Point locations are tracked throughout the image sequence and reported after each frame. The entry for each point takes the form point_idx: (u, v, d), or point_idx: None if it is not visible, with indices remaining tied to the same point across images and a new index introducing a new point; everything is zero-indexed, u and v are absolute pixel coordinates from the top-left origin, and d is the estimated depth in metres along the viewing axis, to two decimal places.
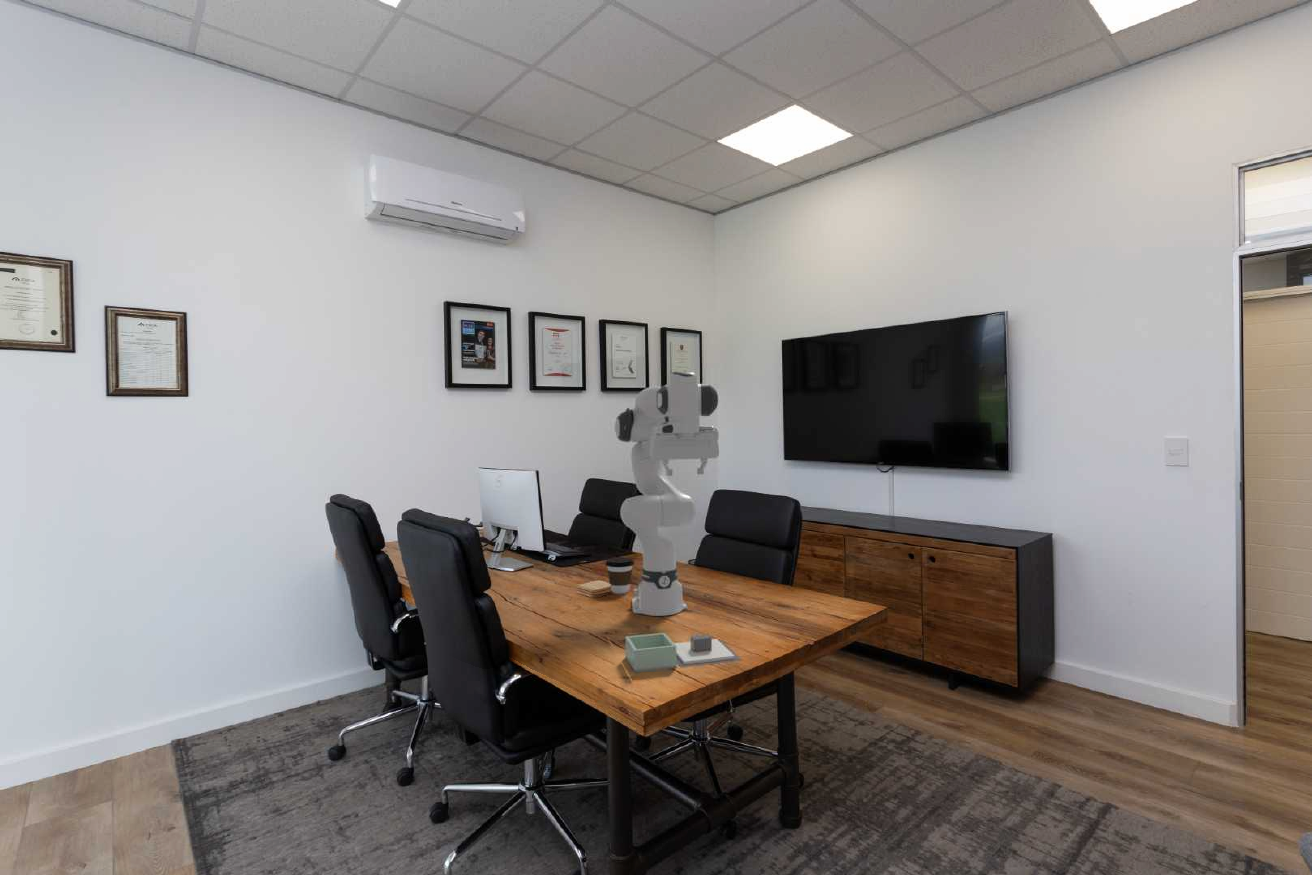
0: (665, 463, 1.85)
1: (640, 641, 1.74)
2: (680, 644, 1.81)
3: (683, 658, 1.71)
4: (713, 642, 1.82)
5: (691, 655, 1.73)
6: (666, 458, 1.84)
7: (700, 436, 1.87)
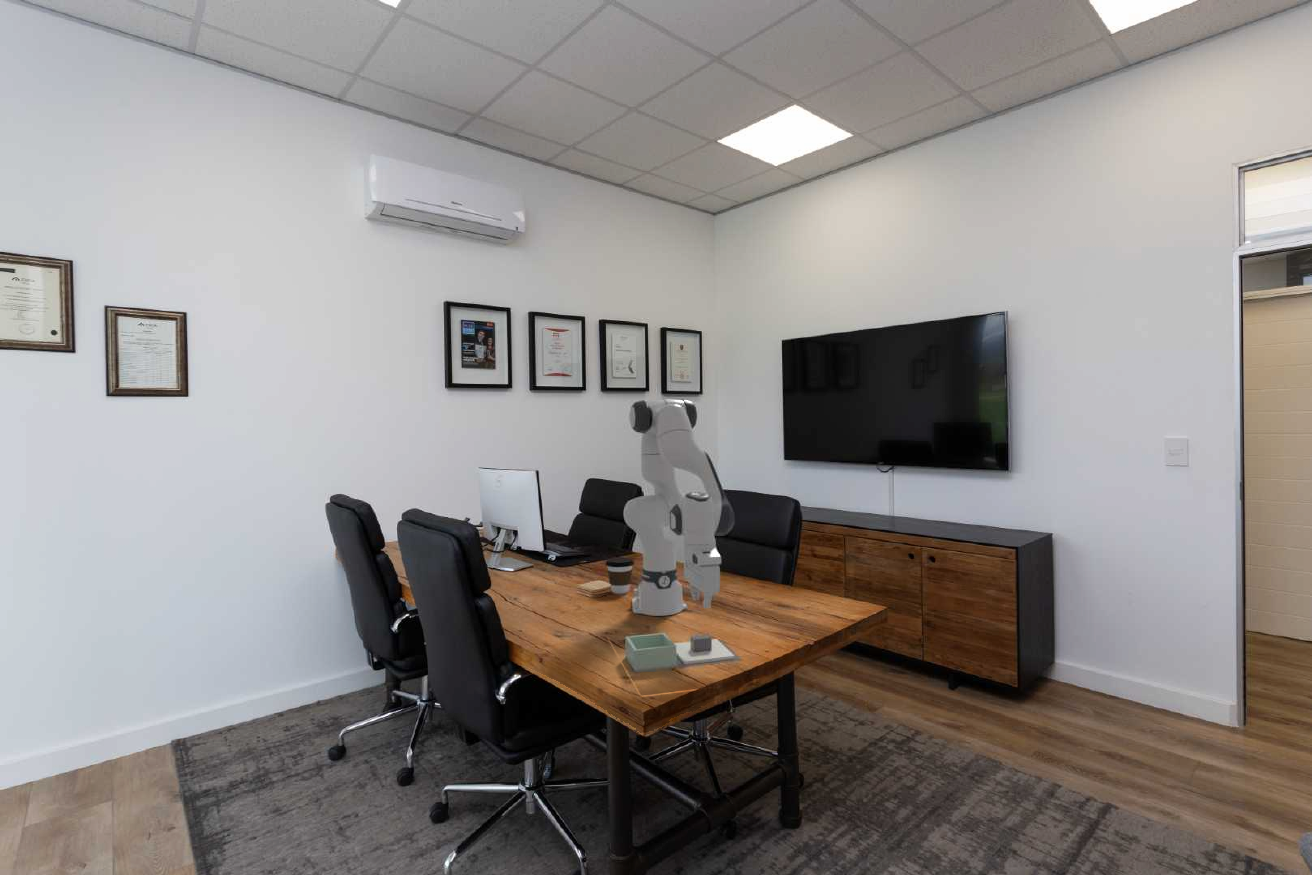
0: None
1: (640, 641, 1.74)
2: (680, 644, 1.81)
3: (683, 658, 1.71)
4: (713, 642, 1.82)
5: (691, 655, 1.73)
6: None
7: None
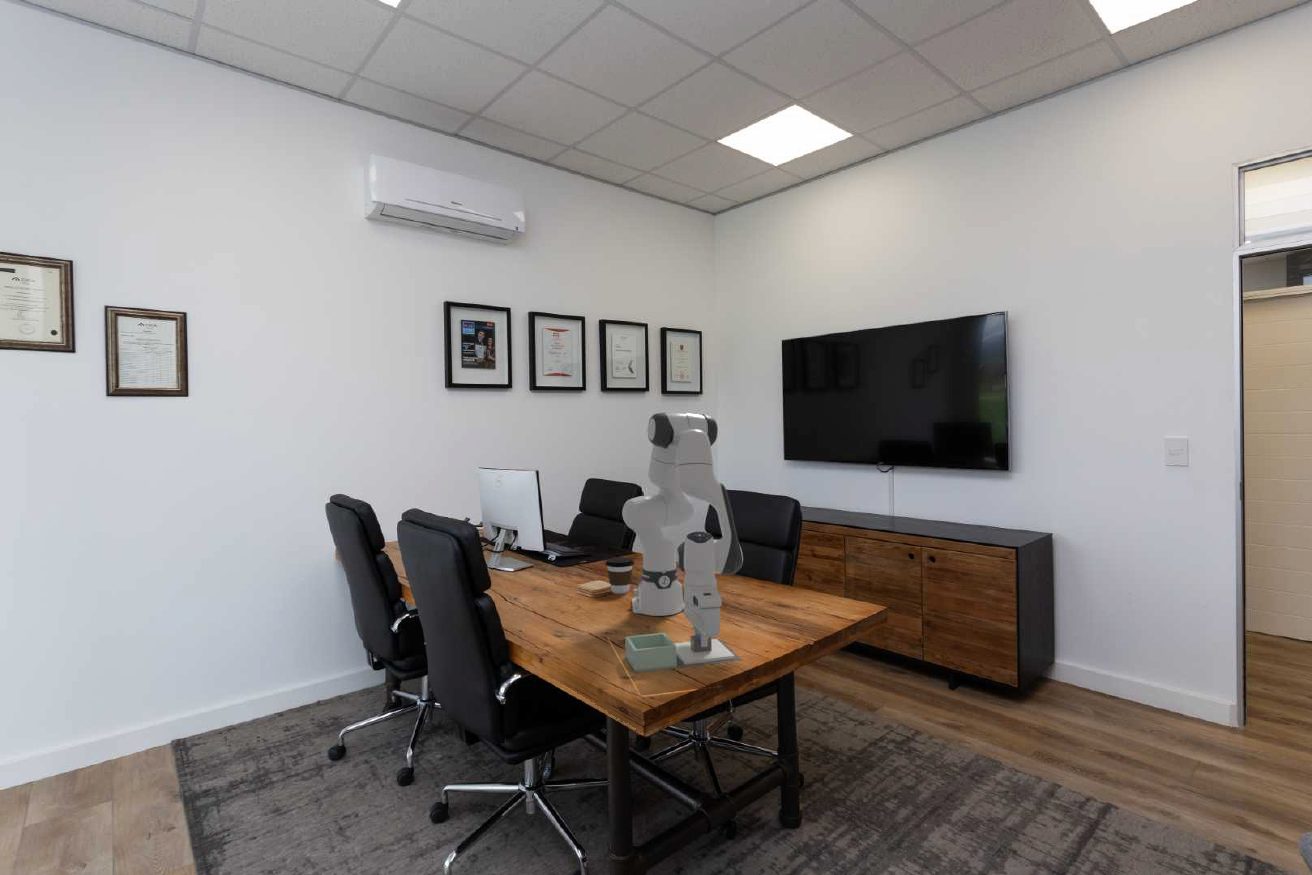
0: None
1: (640, 641, 1.74)
2: (680, 644, 1.81)
3: (683, 658, 1.71)
4: (713, 642, 1.83)
5: (691, 655, 1.73)
6: None
7: None
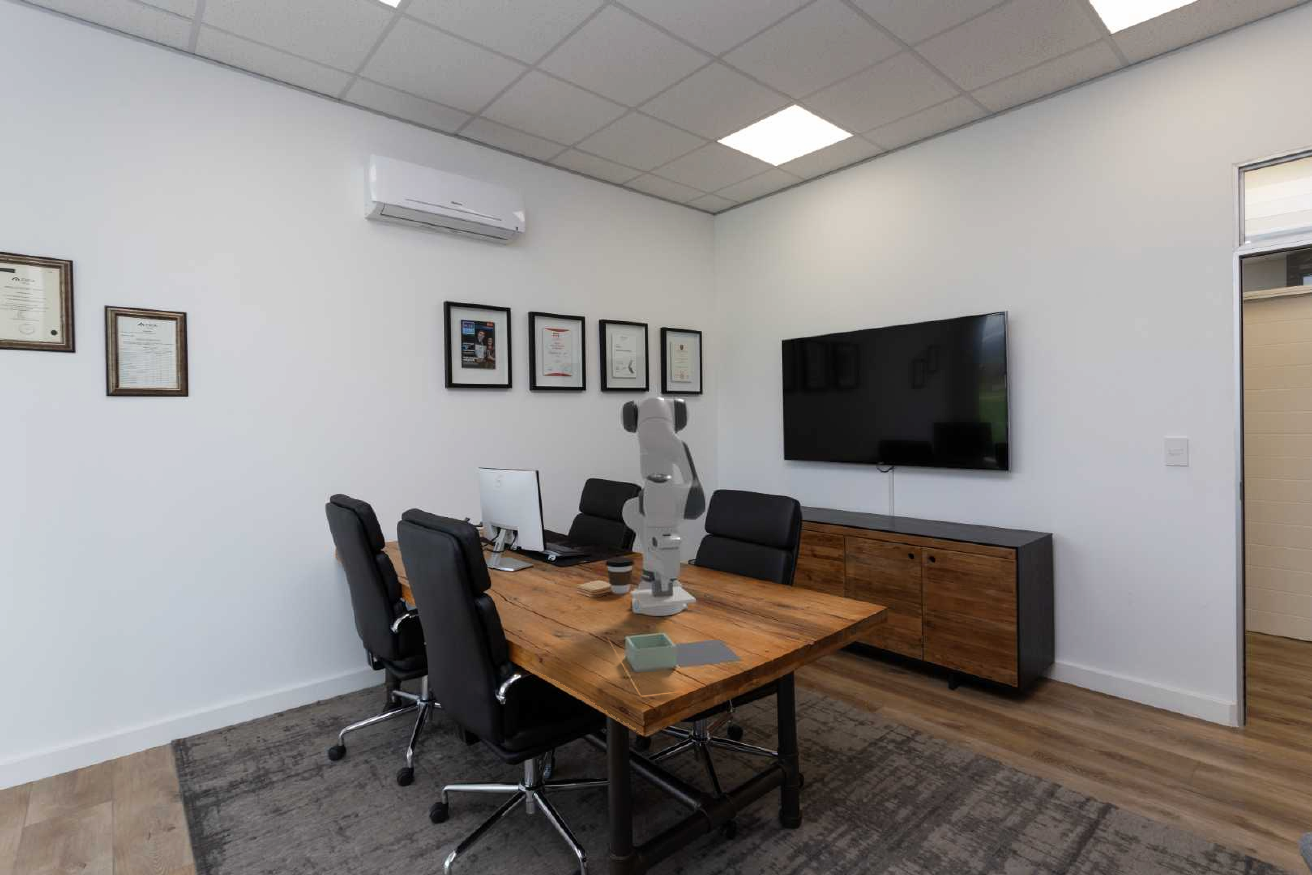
0: None
1: (640, 641, 1.74)
2: (641, 591, 1.75)
3: (642, 601, 1.65)
4: (675, 589, 1.77)
5: (651, 599, 1.67)
6: None
7: None
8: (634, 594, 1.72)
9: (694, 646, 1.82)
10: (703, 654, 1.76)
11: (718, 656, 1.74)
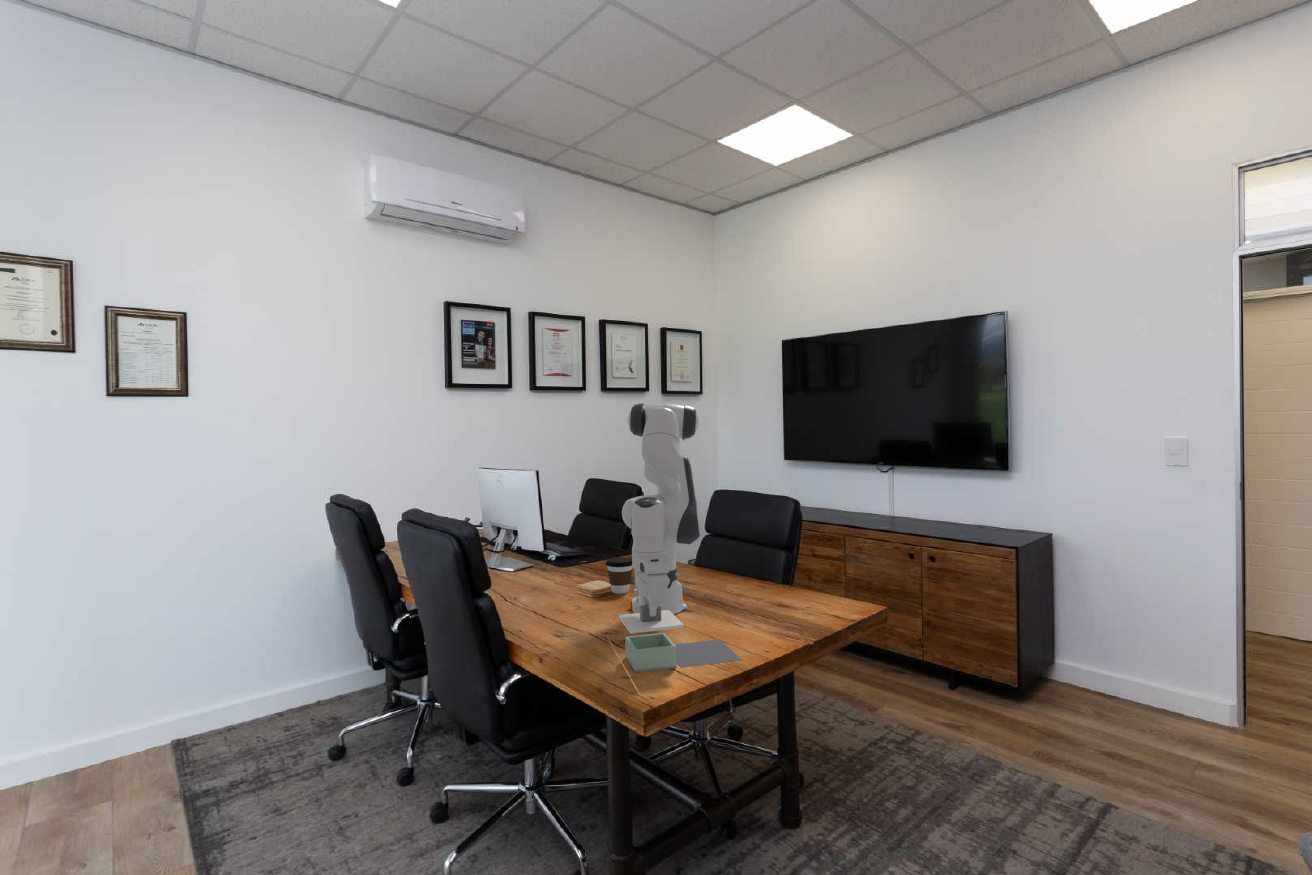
0: None
1: (640, 641, 1.74)
2: (630, 615, 1.74)
3: (630, 627, 1.64)
4: (664, 613, 1.75)
5: (639, 624, 1.66)
6: None
7: None
8: (622, 618, 1.71)
9: (694, 646, 1.82)
10: (703, 654, 1.76)
11: (718, 656, 1.74)
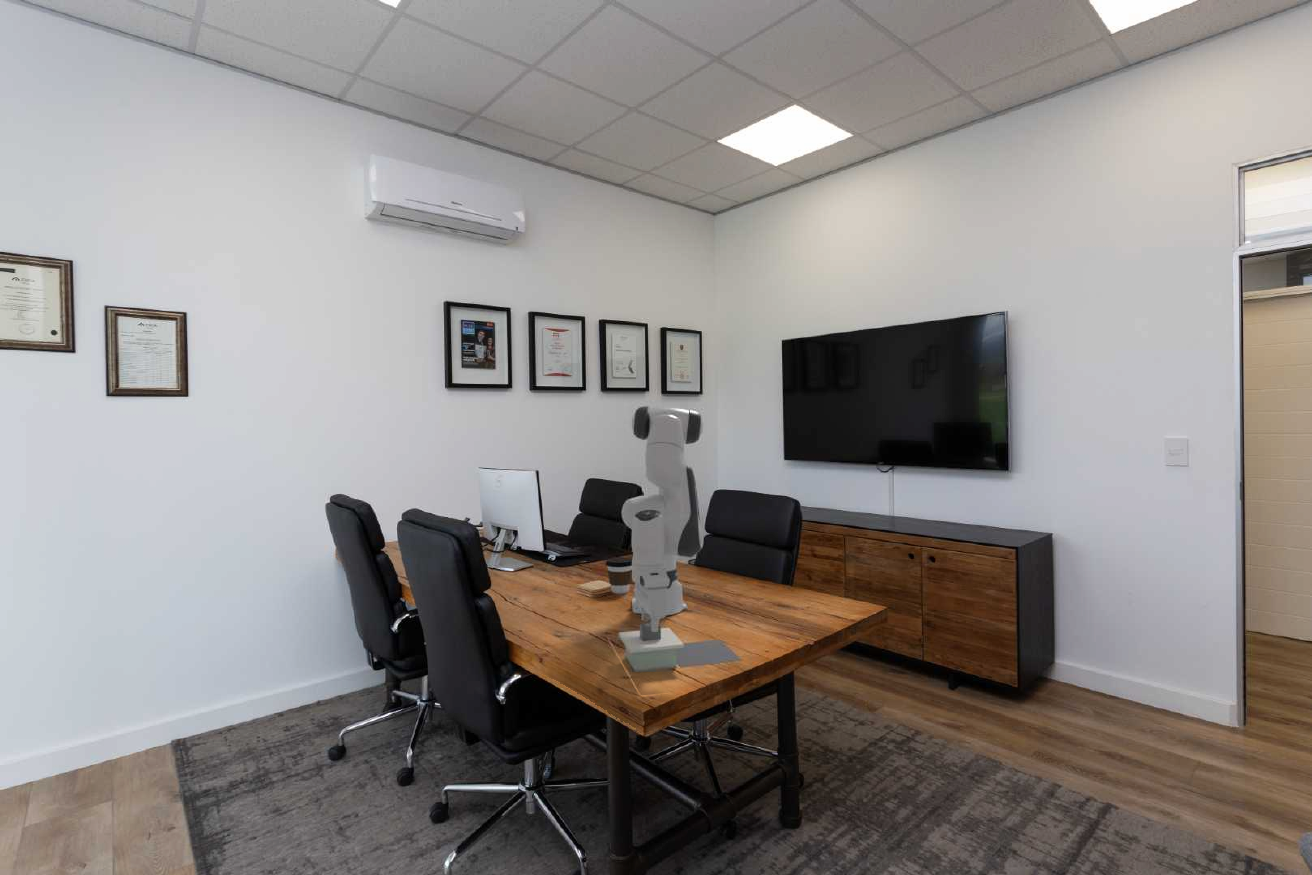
0: None
1: None
2: (630, 633, 1.75)
3: (629, 647, 1.64)
4: (664, 631, 1.76)
5: (638, 644, 1.66)
6: None
7: None
8: (622, 637, 1.71)
9: (694, 646, 1.82)
10: (703, 654, 1.76)
11: (718, 656, 1.74)
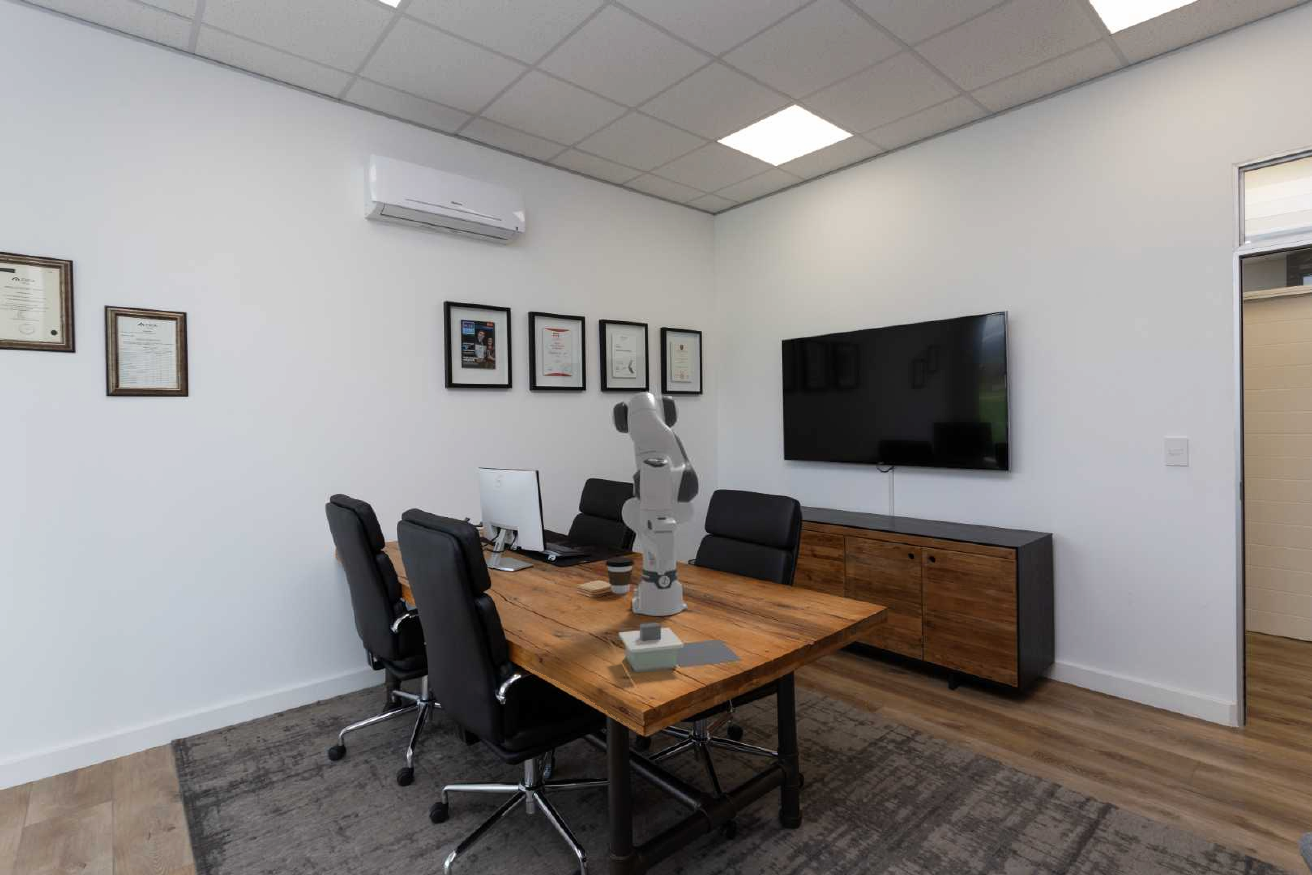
0: None
1: None
2: (630, 633, 1.75)
3: (629, 647, 1.64)
4: (664, 631, 1.76)
5: (638, 644, 1.66)
6: None
7: None
8: (622, 637, 1.71)
9: (694, 646, 1.82)
10: (703, 654, 1.76)
11: (718, 656, 1.74)
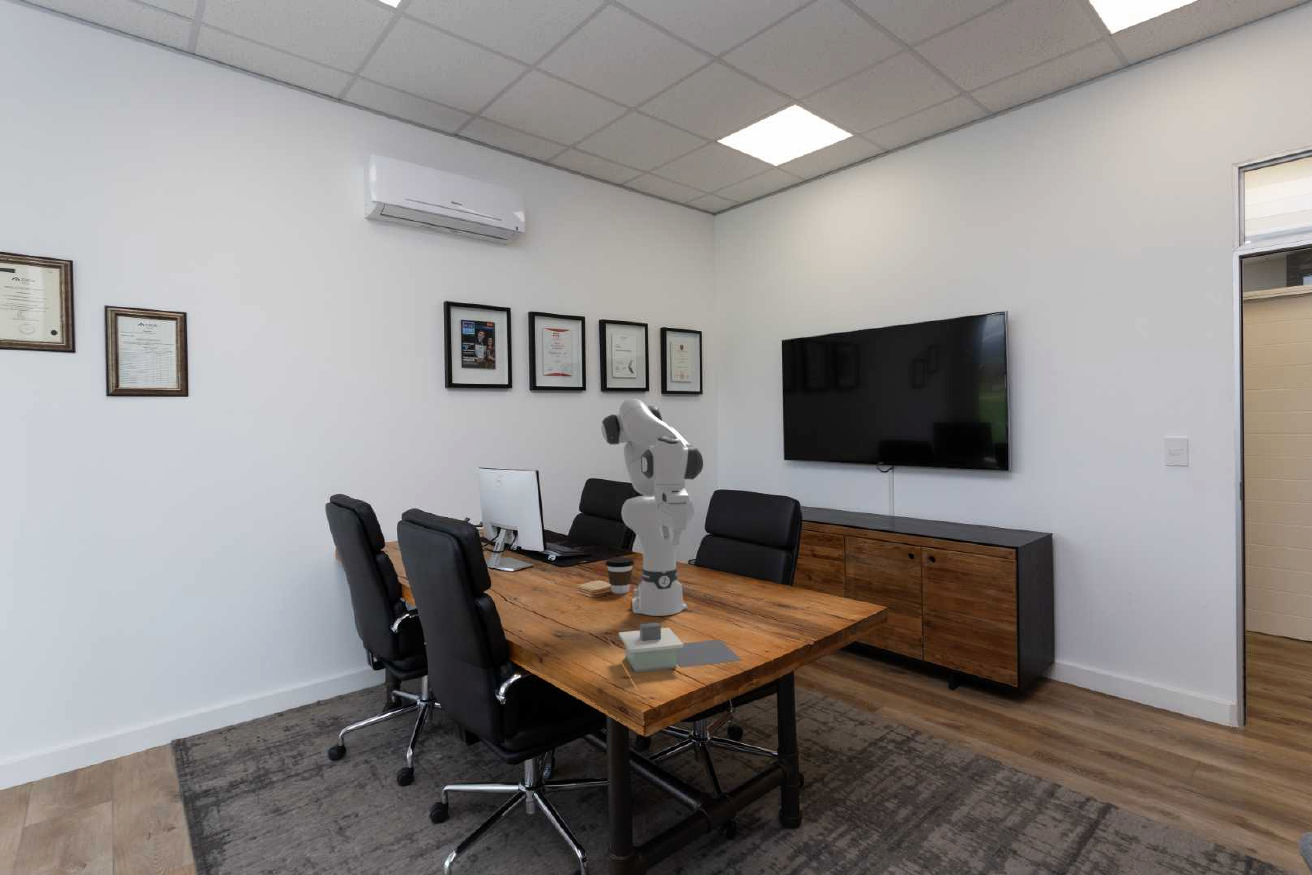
0: None
1: None
2: (630, 633, 1.75)
3: (629, 647, 1.64)
4: (664, 631, 1.76)
5: (638, 644, 1.66)
6: None
7: None
8: (622, 637, 1.71)
9: (694, 646, 1.82)
10: (703, 654, 1.76)
11: (718, 656, 1.74)
